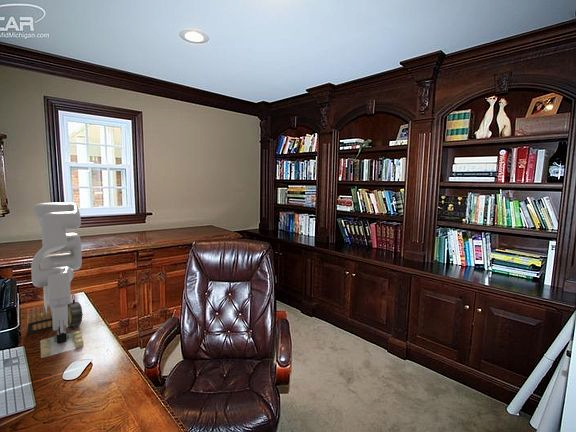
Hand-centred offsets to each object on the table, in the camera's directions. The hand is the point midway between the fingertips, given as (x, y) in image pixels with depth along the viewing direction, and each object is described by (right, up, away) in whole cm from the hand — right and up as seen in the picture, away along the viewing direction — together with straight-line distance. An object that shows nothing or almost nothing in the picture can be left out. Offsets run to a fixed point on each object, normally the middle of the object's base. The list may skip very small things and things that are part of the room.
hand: (61, 341), depth 127 cm
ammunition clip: (-18, 0, +12) cm, 22 cm away
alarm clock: (-6, 0, +16) cm, 17 cm away
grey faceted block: (-3, 0, +3) cm, 4 cm away
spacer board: (0, -1, +1) cm, 1 cm away
